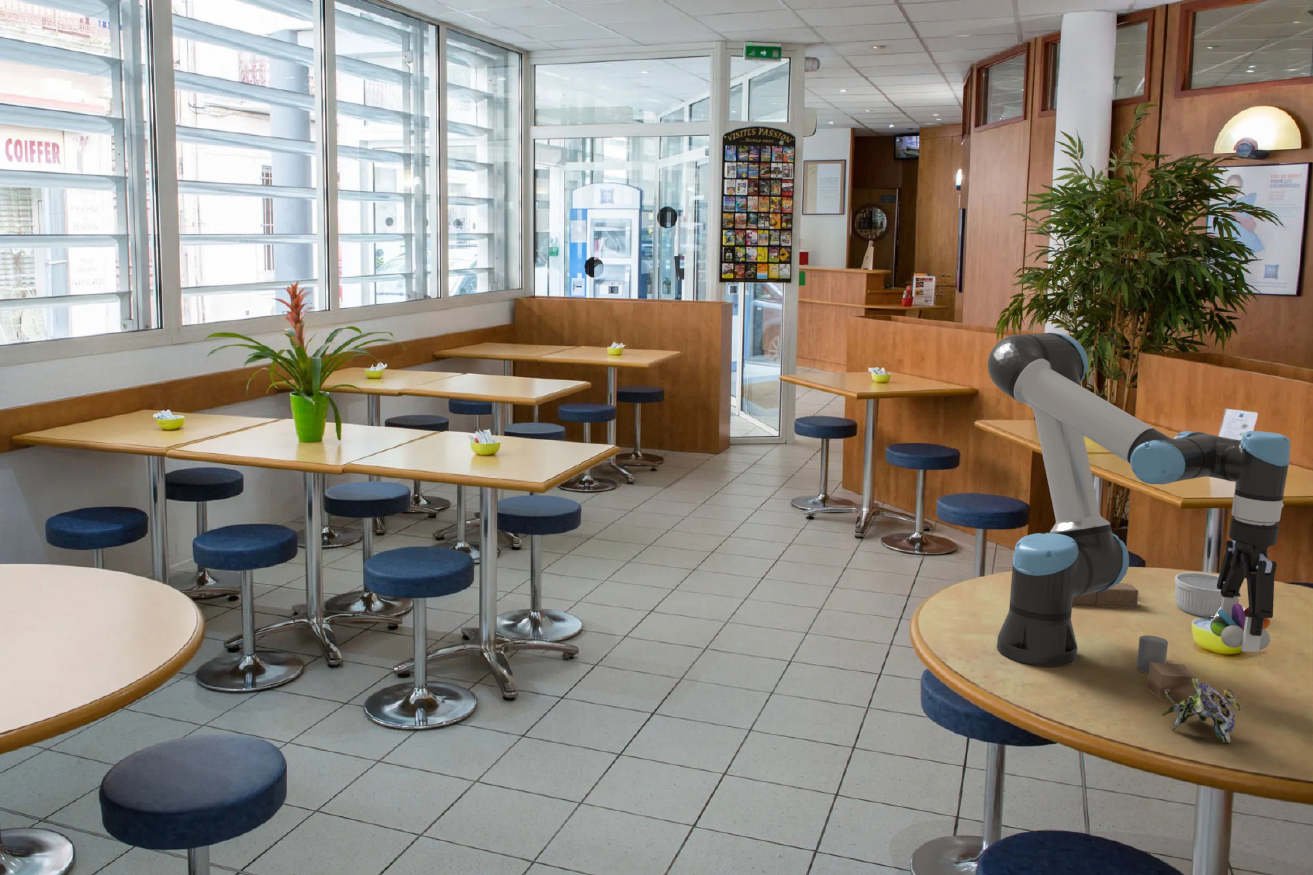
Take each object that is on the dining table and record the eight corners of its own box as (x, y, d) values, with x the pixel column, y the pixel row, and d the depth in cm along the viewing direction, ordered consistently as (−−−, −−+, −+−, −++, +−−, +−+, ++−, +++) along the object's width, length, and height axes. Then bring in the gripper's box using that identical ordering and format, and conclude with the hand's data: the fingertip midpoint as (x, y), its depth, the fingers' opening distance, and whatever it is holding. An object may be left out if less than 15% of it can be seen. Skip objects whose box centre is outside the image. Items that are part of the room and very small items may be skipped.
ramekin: (1246, 622, 234) (1249, 592, 233) (1182, 618, 236) (1185, 588, 235) (1224, 603, 247) (1227, 574, 245) (1164, 599, 249) (1167, 570, 247)
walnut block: (1158, 701, 191) (1161, 674, 190) (1147, 687, 197) (1149, 662, 196) (1193, 703, 191) (1196, 677, 190) (1180, 689, 197) (1183, 664, 196)
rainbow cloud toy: (1276, 654, 187) (1282, 615, 185) (1217, 648, 188) (1223, 609, 187) (1258, 637, 195) (1264, 599, 194) (1202, 631, 197) (1207, 594, 195)
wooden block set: (1143, 586, 241) (1062, 583, 242) (1141, 610, 242) (1060, 606, 243) (1116, 564, 257) (1040, 561, 258) (1114, 586, 258) (1038, 583, 259)
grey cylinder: (1141, 673, 203) (1145, 644, 202) (1132, 663, 208) (1135, 634, 207) (1168, 675, 203) (1172, 645, 202) (1158, 665, 208) (1161, 636, 207)
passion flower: (1219, 771, 177) (1245, 736, 168) (1150, 747, 180) (1172, 712, 171) (1225, 715, 184) (1250, 678, 175) (1158, 693, 187) (1179, 656, 178)
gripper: (1309, 537, 177) (1289, 665, 181) (1248, 505, 197) (1231, 621, 202) (1262, 535, 177) (1244, 663, 181) (1206, 503, 198) (1191, 618, 202)
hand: (1237, 641), depth 192 cm, fingers closed on rainbow cloud toy, 9 cm apart
